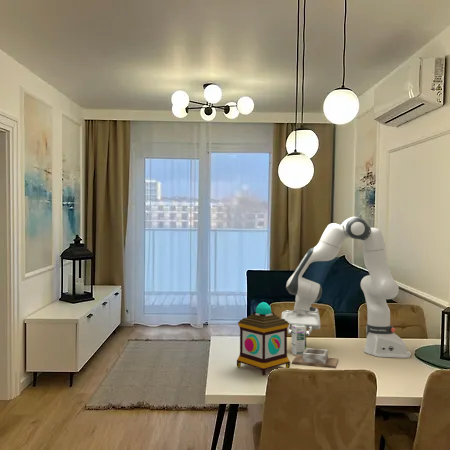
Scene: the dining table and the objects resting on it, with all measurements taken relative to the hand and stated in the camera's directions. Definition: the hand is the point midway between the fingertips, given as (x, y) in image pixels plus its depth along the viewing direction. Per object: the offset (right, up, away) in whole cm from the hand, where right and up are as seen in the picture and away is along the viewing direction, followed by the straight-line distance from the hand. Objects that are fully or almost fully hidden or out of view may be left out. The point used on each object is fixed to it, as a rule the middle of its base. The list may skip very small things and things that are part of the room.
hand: (298, 334), depth 241 cm
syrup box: (0, -10, +1) cm, 10 cm away
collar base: (+6, -10, -13) cm, 18 cm away
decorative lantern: (-20, -10, -23) cm, 32 cm away
